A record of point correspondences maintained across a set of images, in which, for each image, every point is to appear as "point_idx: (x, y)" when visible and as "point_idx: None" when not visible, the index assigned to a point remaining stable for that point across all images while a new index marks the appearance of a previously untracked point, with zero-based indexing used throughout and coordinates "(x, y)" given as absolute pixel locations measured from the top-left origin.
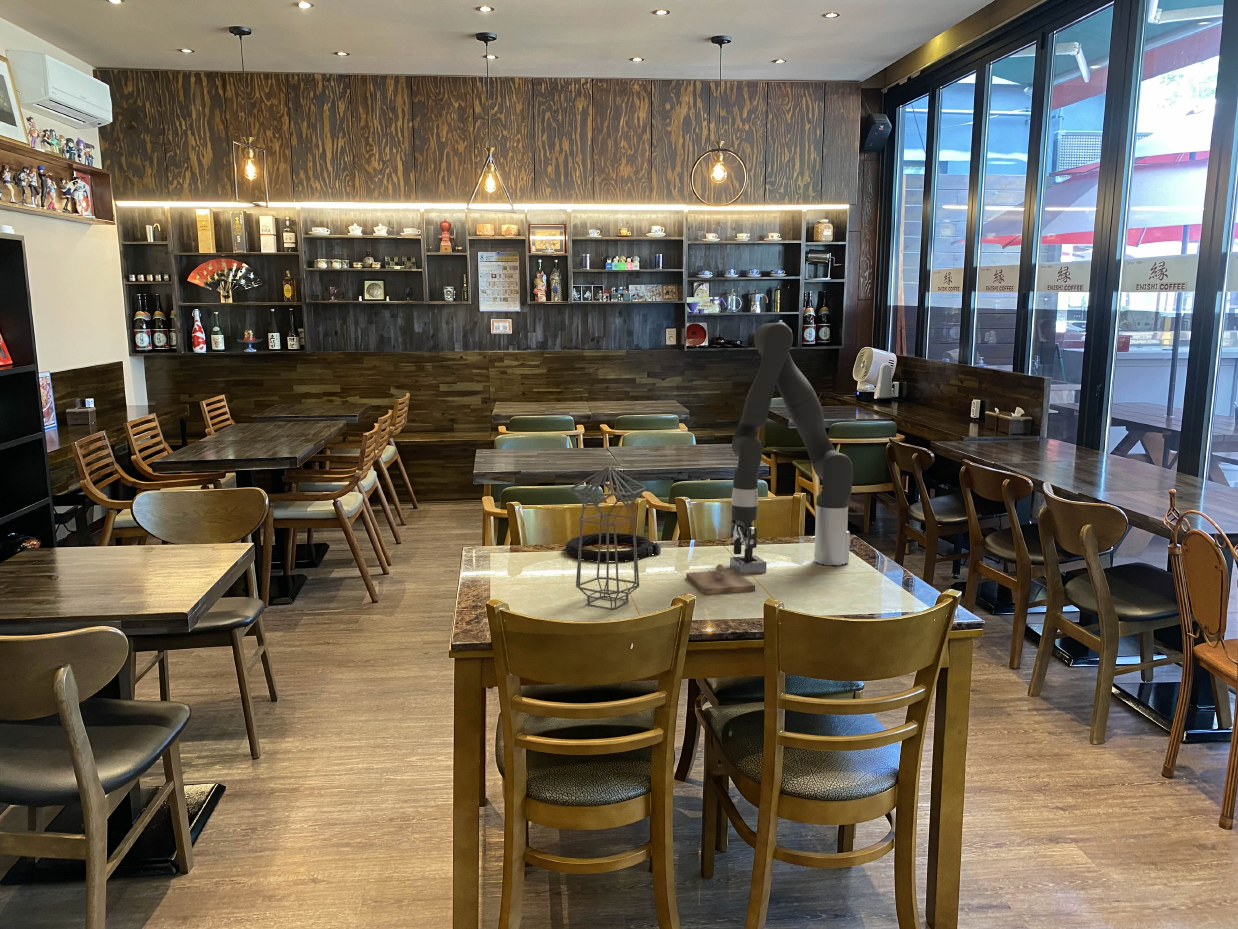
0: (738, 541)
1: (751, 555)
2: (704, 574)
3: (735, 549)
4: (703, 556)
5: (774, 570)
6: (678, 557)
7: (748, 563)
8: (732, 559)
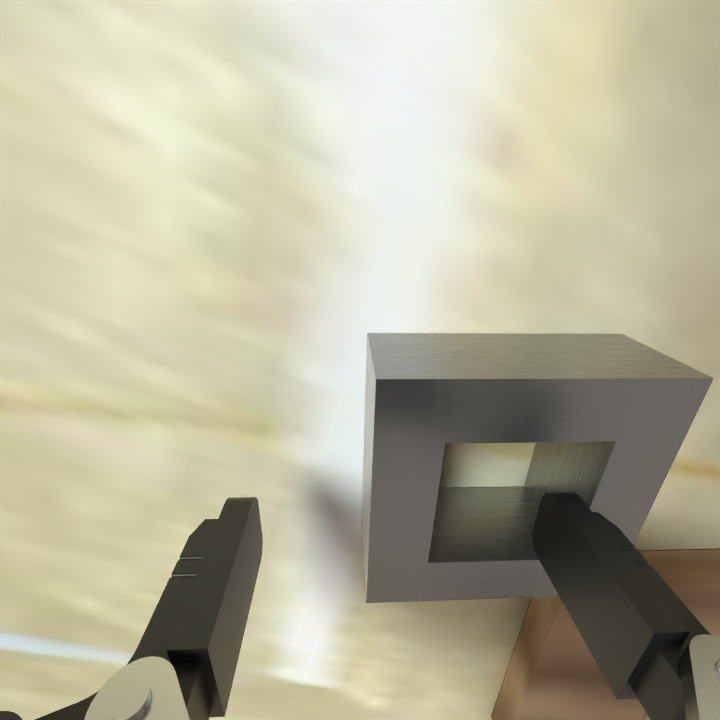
0: (200, 693)
1: (643, 564)
2: (569, 710)
3: (250, 594)
4: (30, 589)
5: (601, 222)
6: (71, 689)
7: (632, 541)
8: (423, 594)
